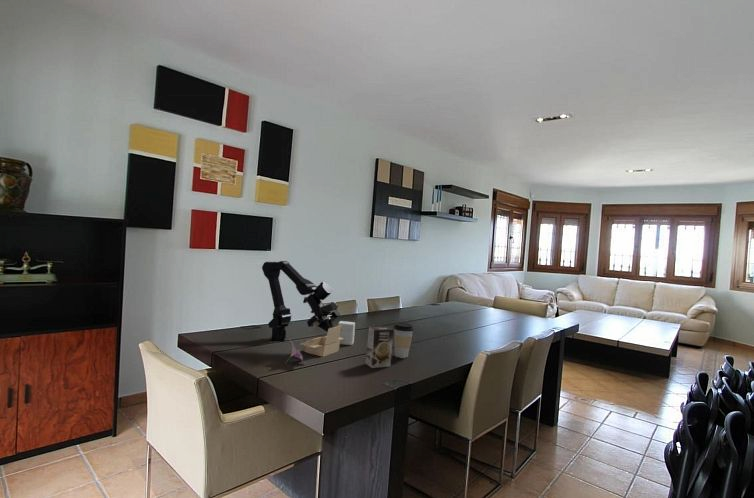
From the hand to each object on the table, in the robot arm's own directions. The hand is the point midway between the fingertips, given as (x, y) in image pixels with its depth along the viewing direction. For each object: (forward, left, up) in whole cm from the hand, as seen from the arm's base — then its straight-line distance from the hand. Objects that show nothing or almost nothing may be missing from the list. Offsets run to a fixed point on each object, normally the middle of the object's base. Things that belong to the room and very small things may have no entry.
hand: (333, 334), depth 180 cm
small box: (+10, +18, -9) cm, 23 cm away
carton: (-4, +4, -9) cm, 10 cm away
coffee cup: (+32, -4, -9) cm, 34 cm away
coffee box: (+17, -16, -9) cm, 25 cm away
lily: (-17, -13, -9) cm, 23 cm away
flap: (0, 0, 0) cm, 0 cm away
